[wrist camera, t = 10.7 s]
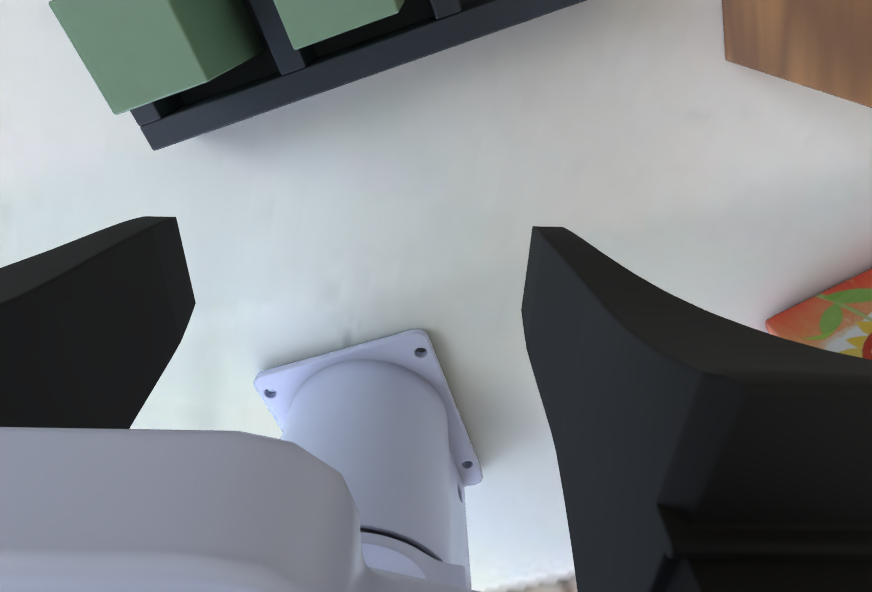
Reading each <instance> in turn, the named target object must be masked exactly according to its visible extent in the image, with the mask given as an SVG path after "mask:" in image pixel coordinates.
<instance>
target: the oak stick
mask: <svg viewBox="0 0 872 592" xmlns="http://www.w3.org/2000/svg"><path fill="white" fill-rule="evenodd" d="M722 8H723V25H724V43H725V59H726V60H727V61H730V62H733V63H736V64H739V65H742V66H745V67H749V68H752V69H755V70H758V71H761V72H764V73H767V74H770V75H773V76H776V77H779V78H782V79H785V80H788V81H791V82H794V83H797V84H800V85H803V86H806V87H809V88H813V89H816V90H819V91H822V92H825V93H828V94H831V95H834V96H837V97H840V98H843V99H846V100H849V101H852V102H855V103H858V104H861V105H864V106H867V107H870V108H872V0H722Z"/></svg>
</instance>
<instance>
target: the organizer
mask: <svg viewBox="0 0 872 592" xmlns="http://www.w3.org/2000/svg"><path fill="white" fill-rule="evenodd" d="M583 1H586V0H405V1H404V3H403V5H402V7H401V8H400V10H399V12H398V13H396V14H394V15H391V16H388V17H385V18H383V19H380V20H377V21H374V22H371V23H369V24H366V25H363V26H360V27H358V28H355V29H352V30H349V31H347V32H344V33H341V34H338V35H336V36H333V37H330V38H327V39H325V40H322V41H319V42H316V43H314V44H311V45H308V46H305V47H303V48H300V49H297V50H294V48H293V46H292V44H291V41H290V39H289V37H288V34H287V32H286V29H285V27H284V25H283V22H282V20H281V17H280V15H279V13H278V10H277V8H276V5H275V3H274V0H243V2H244V4H245V6H246V8H247V11H248V13H249V15H250V17H251V20H252V22H253V24H254V27H255V29H256V31H257V33H258V36H259V38H260V40H261V43H262V45H263V47H264V52H262V53H260V54H258V55H256V56H254V57H253V58H251V59H249V60H247V61H245V62H243V63H242V64H240V65H238V66H236V67H234V68H232V69H230V70H229V71H227V72H225V73H223V74H221V75H219V76H218V77H216V78H214V79H212V80H210V81H208V82H206V83H203V84H200V85H198V86H195V87H192V88H189V89H187V90H184V91H181V92H178V93H176V94H173V95H170V96H167V97H165V98H162V99H159V100H156V101H154V102H151V103H148V104H145V105H143V106H140V107H137V108H134V109H132V110H130V111H131V113H132V115H133V116H134V118H135V120H136V122H137V123H138V125H139V126H141V127H140V128H141V130H142V132H143V134H144V135H145V137H146V139H147V140H148V142H149V144H150V146H151V147H152V149H153V150H158V149H161V148H164V147H167V146H170V145H172V144H175V143H178V142H181V141H184V140H187V139H190V138H193V137H195V136H198V135H201V134H204V133H207V132H210V131H213V130H216V129H218V128H221V127H224V126H227V125H230V124H233V123H236V122H238V121H241V120H244V119H247V118H250V117H253V116H256V115H259V114H261V113H264V112H267V111H270V110H273V109H276V108H279V107H282V106H284V105H287V104H290V103H293V102H296V101H299V100H302V99H305V98H307V97H310V96H313V95H316V94H319V93H322V92H325V91H327V90H330V89H333V88H336V87H339V86H342V85H345V84H348V83H350V82H353V81H356V80H359V79H362V78H365V77H368V76H371V75H373V74H376V73H379V72H382V71H385V70H388V69H391V68H393V67H396V66H399V65H402V64H405V63H408V62H411V61H414V60H416V59H419V58H422V57H425V56H428V55H431V54H434V53H437V52H439V51H442V50H445V49H448V48H451V47H454V46H457V45H459V44H462V43H465V42H468V41H471V40H474V39H477V38H480V37H482V36H485V35H488V34H491V33H494V32H497V31H500V30H503V29H505V28H508V27H511V26H514V25H517V24H520V23H523V22H526V21H528V20H531V19H534V18H537V17H540V16H543V15H546V14H548V13H551V12H554V11H557V10H560V9H563V8H566V7H569V6H571V5H574V4H577V3H580V2H583Z"/></svg>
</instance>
